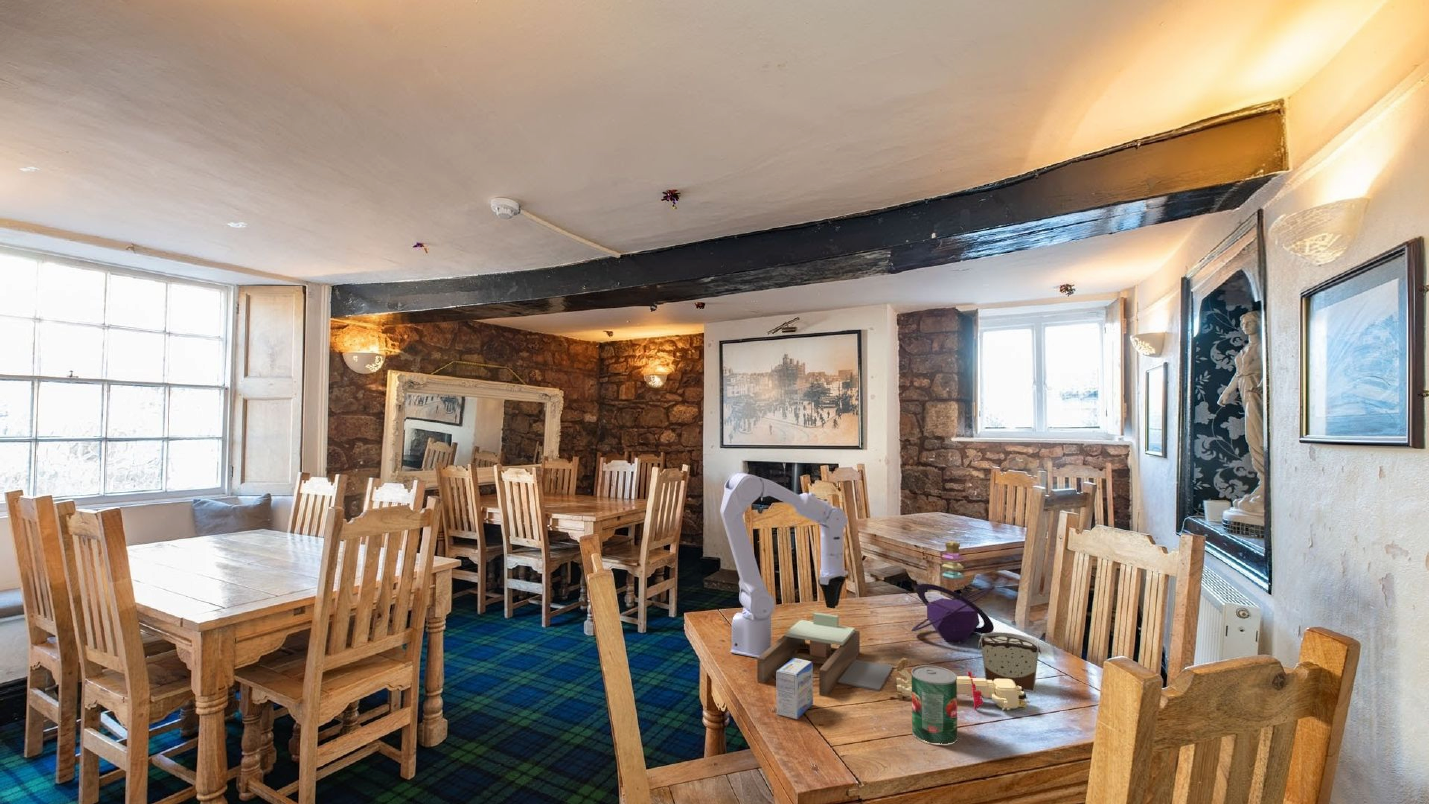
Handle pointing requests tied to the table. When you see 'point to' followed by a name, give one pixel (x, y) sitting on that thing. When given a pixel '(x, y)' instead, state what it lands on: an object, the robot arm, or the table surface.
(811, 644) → the block
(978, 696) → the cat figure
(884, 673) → the mat
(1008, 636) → the food container
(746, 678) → the table surface
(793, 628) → the cover
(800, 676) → the medicine box
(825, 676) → the brown wooden frame
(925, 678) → the canned tomato
